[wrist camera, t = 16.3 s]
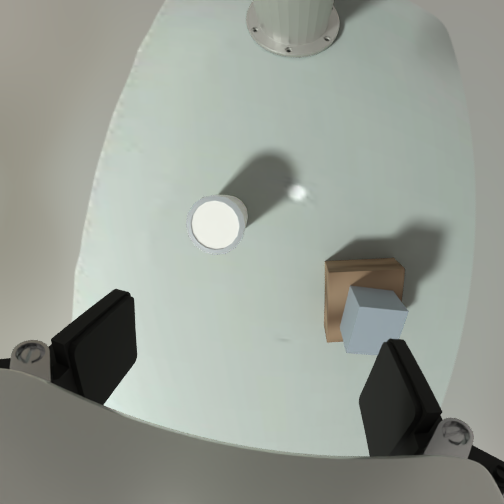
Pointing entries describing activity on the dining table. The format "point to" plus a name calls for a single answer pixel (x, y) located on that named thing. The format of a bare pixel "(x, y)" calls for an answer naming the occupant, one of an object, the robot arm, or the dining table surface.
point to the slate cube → (371, 319)
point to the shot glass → (217, 223)
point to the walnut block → (356, 274)
